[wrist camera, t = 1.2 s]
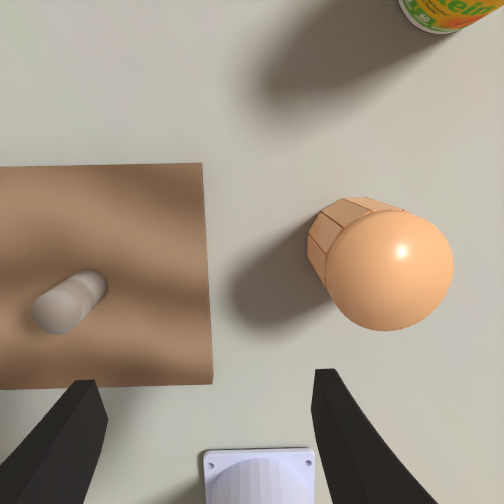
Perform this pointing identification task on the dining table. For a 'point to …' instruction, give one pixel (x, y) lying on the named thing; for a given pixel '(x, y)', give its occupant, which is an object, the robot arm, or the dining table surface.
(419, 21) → the supplement bottle
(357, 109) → the dining table surface
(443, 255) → the wire nut cap
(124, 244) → the post block
